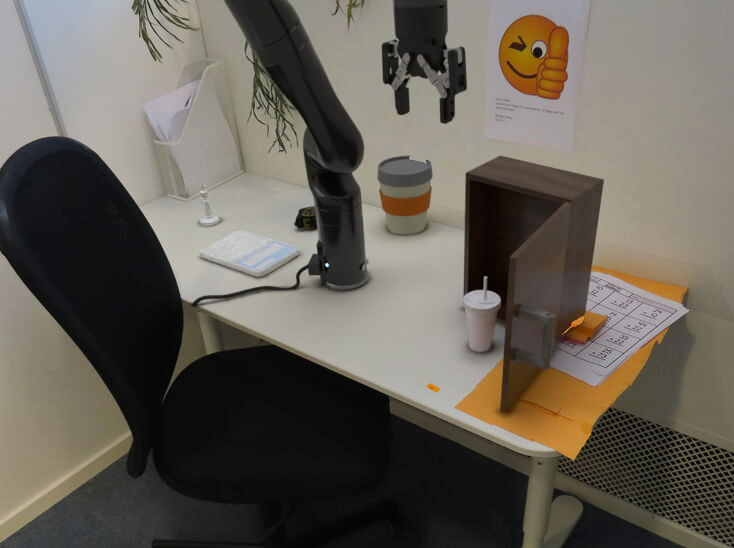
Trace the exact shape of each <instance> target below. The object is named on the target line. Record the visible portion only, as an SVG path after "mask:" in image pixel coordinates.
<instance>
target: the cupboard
mask: <svg viewBox="0 0 734 548" xmlns="http://www.w3.org/2000/svg"><path fill="white" fill-rule="evenodd" d="M464 184H465V185H464V186H465V187H464V188H465V190H464V191H465V193H464V194H465V195H464V243H463V245H464V246H463V248H464V250H463V294H462V295H463V298H464V296H465V295H466V294H467V293H469V292H472V291H476V290H484V277H485V276H486V277H487V290H488V291H492V292H494V293H496V294H498V295H499V296H500V298H501V306H500V308H499V309H498V313H497V318H496V323H498V324H499V325H502V326H506V309H507V293H508V277H509V261H510V256H511V255H512V254H513V253H514V252H515V251H516V250H517V249H518V248H519V247H520V246H521V245H522V244H523V243H524V242H525V241H526V240H527V239H528V238H529V237H530V236H531V235H533V234H534V233H535V232H536V231H537V230H538V229H539V228H540V227H541V226H542V225H543V224H544V223H545V222H546V221H547V220H548V219H549V218H550V217H551V216H552V215H553V214H554V213H555V212H556V211H557V210H558V209H559V208H560V207H561V206H562V205H563V204H564V203H565V202H568V203H572V204H571V213H570V222H569V230H568V239H567V248H566V257H565V265H564V274H563V283H562V292H561V300H560V309H559V318H558V327H557V335H556V344H555V346H556V345H557V344H559V343H560V342H561V341H562V340H563V339H565V338H566V337H568V335H569V334H571V333H572V332H573V331H574V330H575V329H577V328H576V327H572V328H570V329H569V330H568V331H567V332H566V333H564V332H565V331H566V330H567V329H568V328H569V327H570V326H571V323H572V322H573V321H575V320H577V319H578V318H580V317H582V316H584V315H585V317H584V318H586V310H587V304H588V303H587V302H588V297H589V289H590V281H591V275H592V268H593V260H594V254H595V247H596V240H597V232H598V227H599V219H600V211H601V204H602V197H603V191H604V190H603V189H604V184H605V179H604V178H600V177H595V176H591V175H586V174H582V173H578V172H574V171H570V170H565V169H561V168H557V167H556V168H555V167H552V166H549V165H543V164H539V163H535V162H530V161H525V160H521V159H517V158H513V157H508V156H505V155H498V156H496V157H494V158H492V159H490V160H488V161H486V162H484V163H482V164H480V165H478V166H476V167H474V168H472V169H470V170H467V171H466V172H465V183H464ZM462 309H464V310H465V308H464V307H463V306H462ZM563 333H564V334H563ZM562 334H563V335H562Z"/></svg>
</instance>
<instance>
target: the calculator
mask: <svg viewBox="0 0 734 548" xmlns="http://www.w3.org/2000/svg"><path fill="white" fill-rule="evenodd" d="M298 255H300V248H299V247H297V246H295V245H292V244H289V243H285V242H282V241H279V240H276V239H272V238H268V237H265V236H263V235H259V234H255V233H252V232H249V231H245V230H241V229H240V230H239V229H238V230H236V231H233V232H232V233H230V234H228V235H226V236H224V237H222V238H220V239H218V240H217V241H214V242H212V243H211V244H209V245H207V246H204V248H201V249H199V256H200V257H201V258H203V259H204V260H207V261H210V262H213V263H216V264H219V265H222V266H225V267H227V268H230V269H233V270H236V271H239V272H241V273H245V274H247V275H250V276H253V277H257V278H262V277H264V276H266V275H268V274H270V273H271V272H273V271H275V270H276V269H278V268H279V267H281V266H283V265H284V264H286V263H288V262H289V261H291V260H293V259H295V258H296V257H297V256H298Z"/></svg>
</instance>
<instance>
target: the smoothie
mask: <svg viewBox="0 0 734 548" xmlns="http://www.w3.org/2000/svg"><path fill="white" fill-rule="evenodd" d="M500 306H501V298H500V296H499V295H498V294H496V293H494V292H492V291H488V290H487V277H486V276H485V277H484V290H476V291H472V292H469V293H467V294H466V295H465V296H464V298H463V299H462V308H463V307H464V308H465V309H464V311H465V320H466V328H467V336H468V344H469V349H471V350H472V351H473V352H477V353H483V352H487V351H489V350H490V349H491V348H492V344H493V338H494V332H495V328H496V323H497V322H496V318H497V313H498V309H499V308H500Z"/></svg>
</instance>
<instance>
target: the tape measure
mask: <svg viewBox="0 0 734 548" xmlns="http://www.w3.org/2000/svg"><path fill="white" fill-rule="evenodd" d="M293 224H294V227H296V228H297V229H303V228H305V229H315V228H317V220H316V212H315V205H313V206H312V205H311V206H307V207H302V208H299V210H298V212H297V214H296V217H295V220H294V222H293Z"/></svg>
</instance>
